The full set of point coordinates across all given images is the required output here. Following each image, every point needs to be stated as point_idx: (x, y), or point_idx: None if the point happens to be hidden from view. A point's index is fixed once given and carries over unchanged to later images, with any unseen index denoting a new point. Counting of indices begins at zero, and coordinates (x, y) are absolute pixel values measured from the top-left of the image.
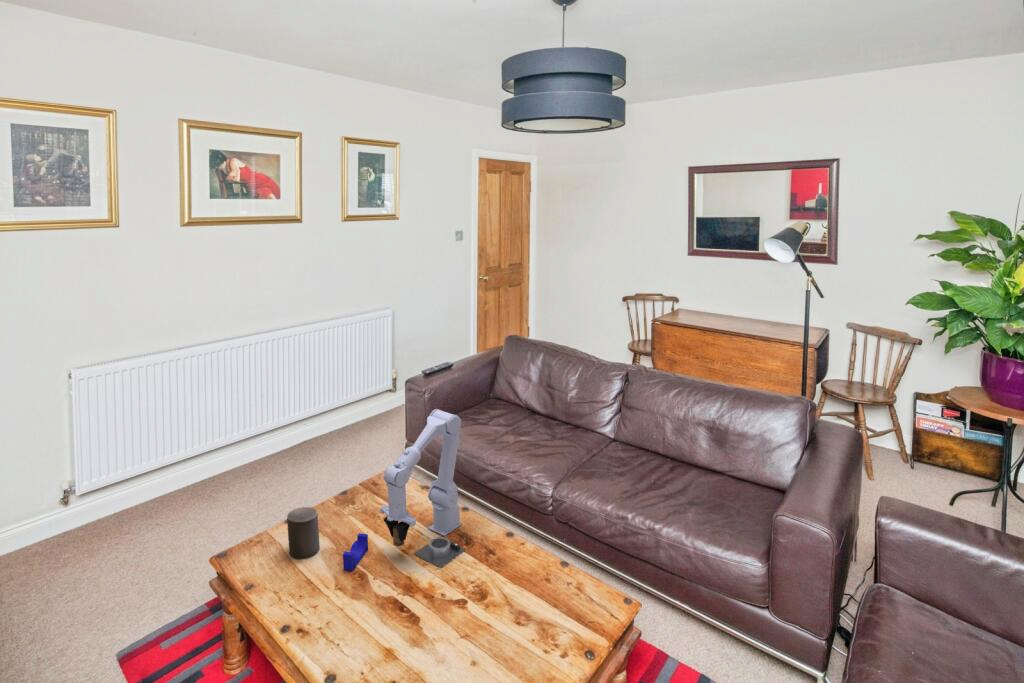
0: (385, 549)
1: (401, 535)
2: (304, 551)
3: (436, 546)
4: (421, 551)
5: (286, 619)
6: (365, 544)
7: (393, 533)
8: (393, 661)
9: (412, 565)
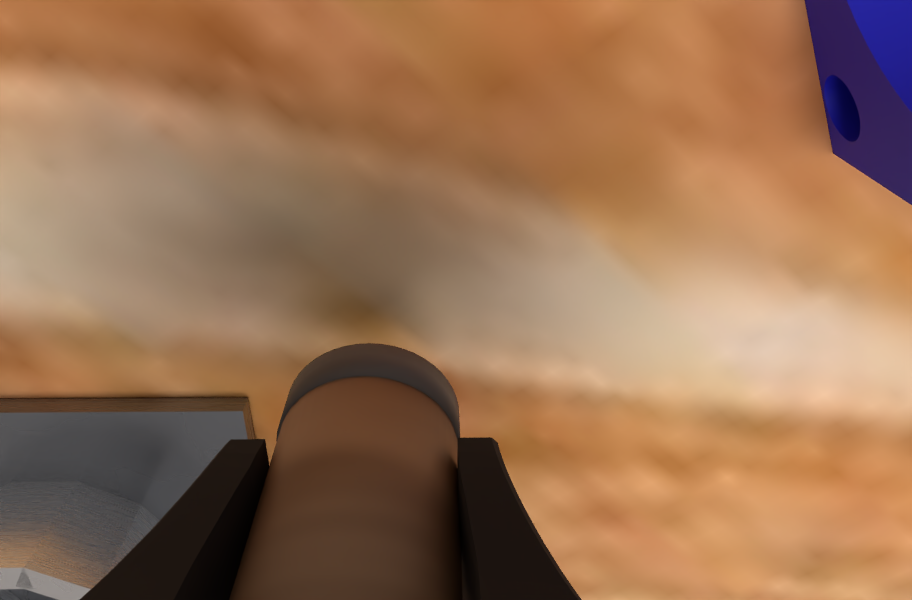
0: (618, 283)
1: (132, 555)
2: None
3: None
4: None
5: None
6: (899, 112)
7: (390, 513)
8: None
9: (78, 255)
